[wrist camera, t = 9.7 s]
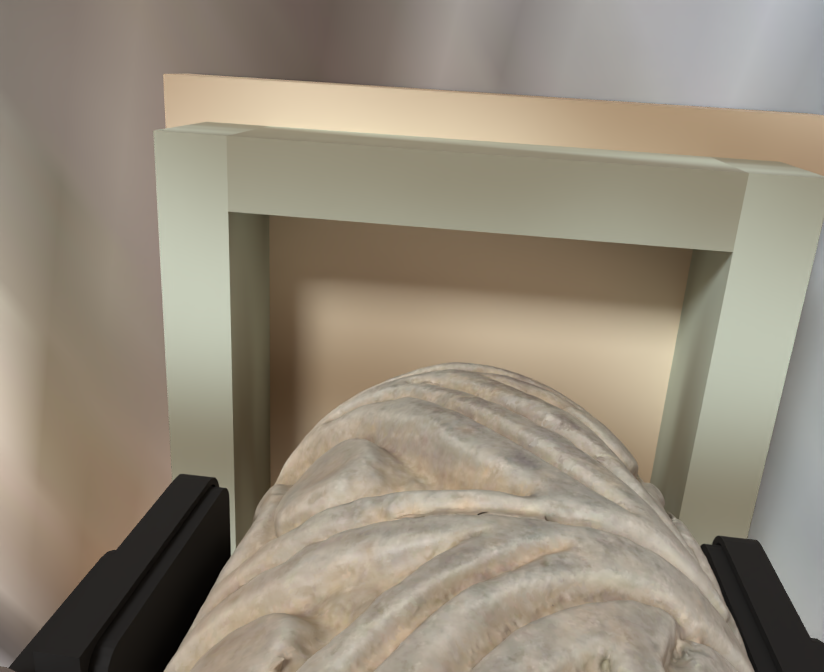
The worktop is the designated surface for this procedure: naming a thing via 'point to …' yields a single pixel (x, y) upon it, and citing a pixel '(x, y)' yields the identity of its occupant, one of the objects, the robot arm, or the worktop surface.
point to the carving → (463, 546)
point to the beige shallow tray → (482, 268)
